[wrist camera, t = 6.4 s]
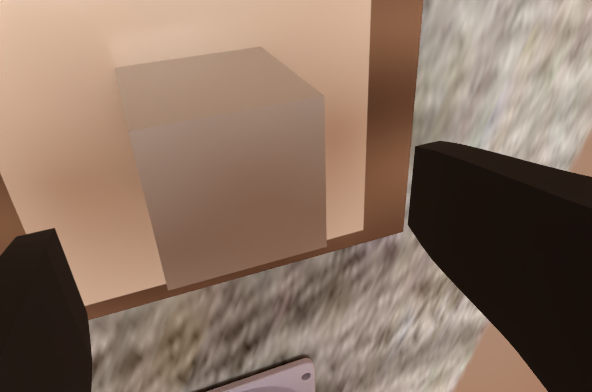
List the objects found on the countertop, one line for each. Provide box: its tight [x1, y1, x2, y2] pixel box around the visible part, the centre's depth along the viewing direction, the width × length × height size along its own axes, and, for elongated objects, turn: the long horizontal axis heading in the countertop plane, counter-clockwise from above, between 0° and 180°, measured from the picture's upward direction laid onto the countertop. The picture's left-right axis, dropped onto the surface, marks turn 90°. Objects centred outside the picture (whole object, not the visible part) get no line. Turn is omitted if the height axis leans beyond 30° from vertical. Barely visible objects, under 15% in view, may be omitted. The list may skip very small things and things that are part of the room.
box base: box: [0, 0, 423, 320], centre depth 14 cm, size 14×24×4 cm, turn 93°
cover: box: [0, 0, 371, 306], centre depth 13 cm, size 11×11×6 cm
